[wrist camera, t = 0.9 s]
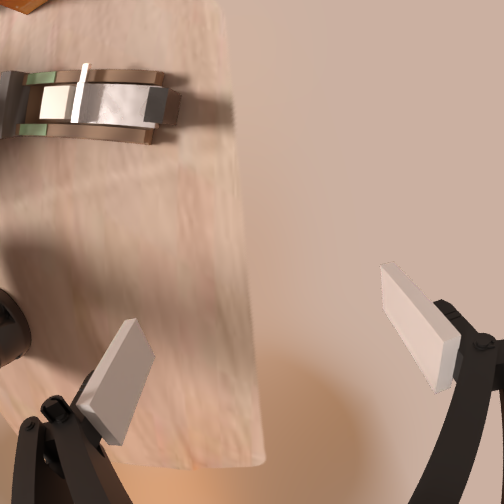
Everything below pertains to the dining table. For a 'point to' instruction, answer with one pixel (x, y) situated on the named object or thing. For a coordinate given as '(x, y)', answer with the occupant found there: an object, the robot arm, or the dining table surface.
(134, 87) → the grey sliding carriage
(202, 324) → the dining table surface
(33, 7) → the small box
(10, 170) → the dining table surface
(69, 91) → the cream cube
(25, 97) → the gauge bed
